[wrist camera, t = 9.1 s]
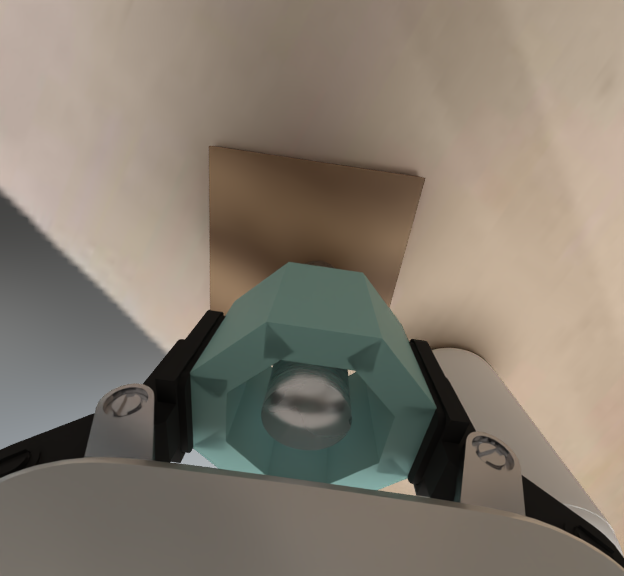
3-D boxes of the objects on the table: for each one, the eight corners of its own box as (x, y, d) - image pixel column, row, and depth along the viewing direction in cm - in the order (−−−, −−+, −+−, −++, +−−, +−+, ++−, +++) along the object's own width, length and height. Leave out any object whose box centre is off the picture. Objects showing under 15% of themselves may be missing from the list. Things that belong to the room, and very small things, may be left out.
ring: (235, 254, 11) (184, 309, 7) (415, 280, 11) (463, 350, 7) (231, 391, 14) (193, 487, 10) (375, 411, 14) (394, 515, 10)
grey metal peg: (298, 257, 19) (264, 377, 9) (342, 263, 19) (360, 391, 9) (293, 297, 20) (258, 444, 10) (335, 303, 20) (343, 455, 10)
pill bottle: (370, 373, 23) (431, 676, 10) (468, 326, 21) (720, 630, 8) (415, 434, 26) (514, 744, 12) (507, 398, 24) (749, 724, 10)
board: (216, 146, 17) (208, 145, 16) (419, 176, 17) (425, 178, 16) (216, 322, 22) (210, 330, 21) (373, 344, 22) (376, 354, 21)
